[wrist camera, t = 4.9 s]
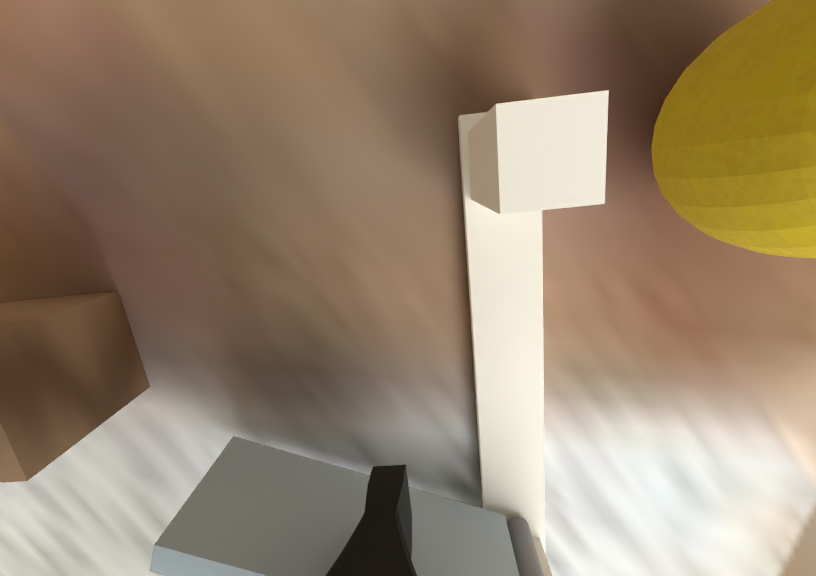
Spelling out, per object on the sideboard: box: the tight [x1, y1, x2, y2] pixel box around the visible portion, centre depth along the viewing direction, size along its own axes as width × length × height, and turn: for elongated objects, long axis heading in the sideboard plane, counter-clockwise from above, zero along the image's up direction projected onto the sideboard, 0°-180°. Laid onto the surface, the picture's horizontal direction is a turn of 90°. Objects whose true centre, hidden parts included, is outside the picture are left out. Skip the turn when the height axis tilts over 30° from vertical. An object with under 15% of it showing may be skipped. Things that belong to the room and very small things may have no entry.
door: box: [150, 436, 544, 576], centre depth 13 cm, size 12×2×5 cm, turn 72°
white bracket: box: [458, 90, 609, 576], centre depth 12 cm, size 18×2×5 cm, turn 6°
